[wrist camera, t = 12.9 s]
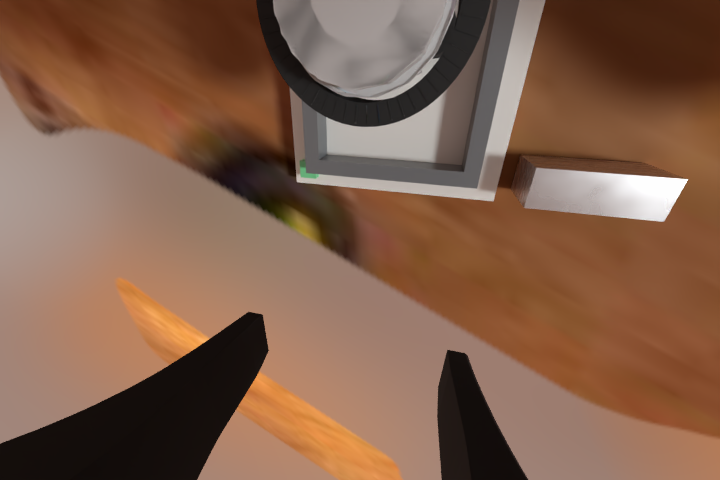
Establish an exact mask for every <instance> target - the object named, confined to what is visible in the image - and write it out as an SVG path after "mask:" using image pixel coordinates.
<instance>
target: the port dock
mask: <svg viewBox="0 0 720 480" xmlns="http://www.w3.org/2000/svg"><path fill="white" fill-rule="evenodd" d="M458 3H459V0H457V1H456V7H455V14H456V18H457V13H458ZM544 4H545V0H491V3H490V7H489V11H488V14H487V18H486V22H485V25H484V27H483V30H482V33H481V35H480V38H479V40H478V42H477V44H476V47H475V49H474V51H473V53H472V55H471V56H470V58H469V60H468V62H467V63H466V65H465V67H464V68H463V69H462V71H461V72H460V74H459V75H458V77H457V78H456V79H455V80H454V81H453V83H452V84H451V85H450V86H449V87H448V89H447V90H446V91H445V92H444V93H443V94H441V95H440V96H439V97H438V98H437V99H436V100H435V101H434V102H432V103H431V104H430V105H429V106H427V107H426V108H424V109H423V110H421V111H420V112H418V113H416V114H414V115H412V116H411V117H409V118H406V119H404V120H401V121H399V122H396V123H392V124H388V125H384V126H377V127H358V126H351V125H346V124H342V123H339V122H336V121H334V120H331V119H329V118H327V117H325V116H323V115H321V114H320V113H318V112H316V111H315V110H313V109H312V108H311V107H309V106H308V105H307V104H306V103H305V102H303V101H302V100H301V99H300V98H299V97H298V96H297V95H296V94H295V93H294V91H293V90H292V89H291V88H290V99H291V112H292V125H293V138H294V150H295V163H296V176H297V182H302V183H312V184H322V185H332V186H342V187H353V188H363V189H373V190H383V191H394V192H404V193H414V194H424V195H435V196H445V197H455V198H465V199H475V200H486V201H494V197H495V193H496V189H497V186H498V182H499V178H500V174H501V170H502V166H503V162H504V159H505V155H506V151H507V147H508V143H509V139H510V135H511V131H512V128H513V124H514V120H515V116H516V112H517V108H518V104H519V101H520V97H521V93H522V89H523V85H524V81H525V77H526V73H527V70H528V66H529V62H530V58H531V54H532V50H533V46H534V43H535V39H536V35H537V31H538V27H539V23H540V19H541V15H542V12H543V8H544ZM438 60H439V58H435V59H432V60H431V61H430V62H429V63H428V64H427V65H426V66H425V67H424V68H423V69H422V70H421V71H422V73H421V74H419V75H417V76H415V77H414V78H413V79H412V80H411V81H410V82H409V83H408V84H406V85H405V86H403V87H401V88H399V89H396V90H394V91H391V92H389V93H386V94H384V95H382V96H379V97H375V98H363V99H368V100H384V99H389V98H393V97H395V96H397V95H400V94H402V93H404V92H405V91H407V90H408V89H410V88H411V87H413V86H414V85H415V84H416V83H418V82H419V81H420V80H421V79H422V78H423V77H424V76H425V75H426V74H427V73H428V72H429V71H430V70H431V69H432V67H433V66H434V65H435V64H436V62H437V61H438ZM358 98H360V97H358Z"/></svg>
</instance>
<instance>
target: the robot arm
mask: <svg viewBox="0 0 720 480" xmlns="http://www.w3.org/2000/svg"><path fill="white" fill-rule="evenodd" d="M268 351H269V350H268V344H267V339H266V333H265V326H264V321H263V315H262V314H256V313H252V312H248V313H246V314H245V315H243V316H242V317H241V318H239V319H238V320H236V321H235V322H233V323H232V324H231V325H229V326H228V327H226V328H225V329H224V330H222V331H221V332H219V333H218V334H216V335H215V336H213V337H212V338H211V339H209V340H208V341H206V342H205V343H203V344H202V345H200V346H199V347H197V348H196V349H194V350H193V351H191V352H190V353H188V354H186V355H185V356H183V357H182V358H180V359H179V360H177V361H175V362H174V363H172V364H171V365H169V366H168V367H166V368H164V369H162V370H161V371H159V372H157V373H156V374H154V375H152V376H150V377H149V378H147V379H145V380H143V381H141V382H139V383H138V384H136V385H134V386H132V387H130V388H128V389H126V390H125V391H122V392H120V393H118V394H116V395H114V396H112V397H110V398H108V399H106V400H104V401H102V402H100V403H98V404H96V405H94V406H91V407H89V408H87V409H85V410H83V411H80V412H78V413H76V414H74V415H71V416H69V417H67V418H64V419H62V420H60V421H57V422H55V423H52V424H50V425H48V426H45V427H43V428H40V429H38V430H35V431H33V432H30V433H27V434H25V435H22V436H19V437H17V438H14V439H11V440H9V441H6V442H3V443H1V444H0V480H197V479H198V477H199V474H200V472H201V470H202V469H203V466H204V464H205V463H206V461H207V459H208V456H209V455H210V453H211V451H212V449H213V447H214V445H215V443H216V441H217V440H218V438H219V436H220V434H221V433H222V431H223V429H224V428H225V426H226V425H227V423H228V421H229V420H230V418H231V416H232V415H233V413H234V412H235V410H236V409H237V407H238V405H239V404H240V402H241V401H242V399H243V397H244V396H245V394H246V392H247V391H248V389H249V388H250V386H251V384H252V383H253V381H254V379H255V378H256V376H257V374H258V372H259V370H260V368H261V366H262V364H263V362H264V360H265V357H266V355H267V353H268ZM437 417H438V433H439V447H440V460H441V475H442V480H528V479H527V477H526V476H525V474H524V472H523V470H522V469H521V467H520V465H519V463H518V462H517V460H516V458H515V456H514V455H513V453H512V451H511V449H510V447H509V446H508V444H507V442H506V440H505V438H504V436H503V435H502V433H501V431H500V429H499V427H498V425H497V423H496V421H495V419H494V417H493V415H492V413H491V410H490V408H489V406H488V404H487V402H486V400H485V398H484V396H483V394H482V391H481V389H480V387H479V384H478V382H477V380H476V377H475V375H474V372H473V370H472V367H471V364H470V362H469V359H468V356H467V355H466V354H465V353H461V352H456V351H450V350H447V354H446V358H445V362H444V366H443V370H442V374H441V378H440V382H439V386H438V415H437Z"/></svg>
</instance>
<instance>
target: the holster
mask: <svg viewBox="0 0 720 480" xmlns="http://www.w3.org/2000/svg"><path fill="white" fill-rule="evenodd" d="M687 180H688V179H686V178H683V177H680V176H678V175H675V174H672V173H670V172H667V171H665V170H662V169H659V168H657V167H654V166H651V165H649V164H646V163H637V162H622V161H608V160H594V159H579V158H565V157H550V156H536V155H522V154H520V158H519V161H518V165H517V168H516V172H515V175H514V179H513V182H512V186H511V190H512V192H513V193H514V195H515V196H516V197H517V199H518V200H519V201H520V203H521V204H522V206H523V207H524V208H531V209H542V210H552V211H562V212H572V213H582V214H592V215H602V216H612V217H622V218H632V219H642V220H652V221H662V222H664V220H665V219H666V217H667V215H668V213H669V212H670V210H671V208H672V206H673V205H674V203H675V201H676V199H677V198H678V196H679V194H680V193H681V191H682V189H683V187H684V186H685V184H686V182H687Z"/></svg>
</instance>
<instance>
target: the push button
mask: <svg viewBox="0 0 720 480" xmlns="http://www.w3.org/2000/svg"><path fill="white" fill-rule="evenodd" d="M256 1H257V8H258V15H259V20H260V24H261V29H262V33H263V36H264V39H265V42H266V45H267V48H268V50H269V52H270V55H271V57H272V59H273V61H274V63H275V65H276V67H277V69H278V71H279V72H280V74H281V75H282V77H283V79H284V80H285V81H286V83H287V84H288V85H289V87H290V88H291V89H292V90H293V91H294V93H295V94H296V95H297V96H298V97H299V98H300V99H301V100H302V101H303V102H305V103H306V104H307V105H308V106H309V107H311V108H312V109H313V110H315V111H316V112H318V113H320V114H321V115H323V116H325V117H327V118H329V119H331V120H334V121H336V122H339V123H342V124H346V125H351V126H358V127H377V126H384V125H388V124H392V123H396V122H399V121H401V120H404V119H406V118H409V117H411V116H412V115H414V114H416V113H418V112H420V111H421V110H423V109H424V108H426V107H427V106H429V105H430V104H431V103H432V102H434V101H435V100H436V99H437V98H438V97H439V96H440V95H441V94H443V93H444V92H445V91H446V90H447V89H448V87H449V86H450V85H451V84H452V83H453V81H454V80H455V79H456V78H457V77H458V75H459V74H460V72H461V71H462V69H463V68H464V67H465V65H466V63H467V62H468V60H469V58H470V56H471V55H472V53H473V51H474V49H475V47H476V44H477V42H478V40H479V38H480V35H481V33H482V30H483V27H484V25H485V22H486V18H487V14H488V11H489V7H490V3H491V0H459V3H458V13H457V18H456V14H455V7H456V1H457V0H256ZM435 58H439V60H438V61H437V62H436V64H435V65H434V66H433V67H432V69H431V70H430V71H429V72H428V73H427V74H426V75H425V76H424V77H423V78H422V79H421V80H420V81H419V82H418V83H416V84H415V85H414V86H413V87H411V88H410V89H408V90H407V91H405V92H404V93H402V94H400V95H397V96H395V97H393V98H389V99H384V100H368V99H363V98H375V97H379V96H382V95H384V94H386V93H389V92H391V91H394V90H396V89H399V88H401V87H403V86H405V85H406V84H408V83H409V82H410V81H411V80H412V79H413V78H414V77H415V76H417V75H419V74H421V73H422V71H421V70H422V69H423V68H424V67H425V66H426V65H427V64H428V63H429V62H430V61H431V60H432V59H435ZM358 97H360V98H358Z"/></svg>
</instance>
